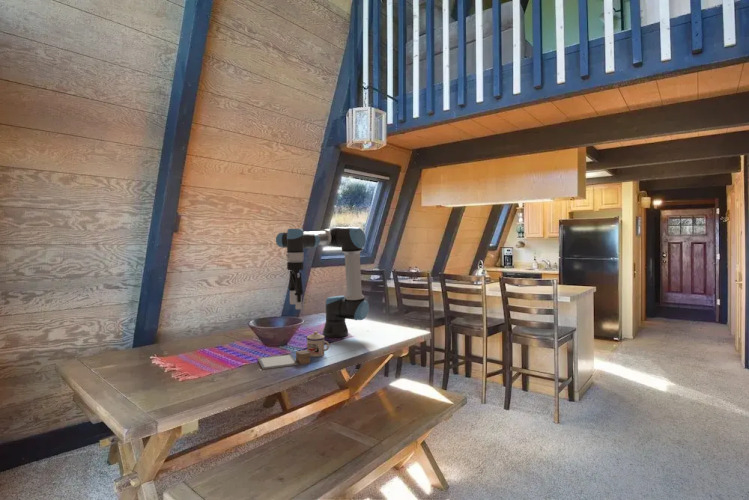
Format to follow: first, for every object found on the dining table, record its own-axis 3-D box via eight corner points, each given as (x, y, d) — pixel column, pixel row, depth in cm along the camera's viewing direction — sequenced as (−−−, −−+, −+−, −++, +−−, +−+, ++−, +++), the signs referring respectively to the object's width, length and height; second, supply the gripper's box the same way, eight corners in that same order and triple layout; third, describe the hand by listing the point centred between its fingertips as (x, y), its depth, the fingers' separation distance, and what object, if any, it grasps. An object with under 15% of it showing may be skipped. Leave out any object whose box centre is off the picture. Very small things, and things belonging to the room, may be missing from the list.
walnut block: (296, 362, 196) (296, 351, 196) (305, 360, 199) (305, 350, 199) (300, 364, 192) (300, 354, 192) (310, 363, 195) (310, 352, 195)
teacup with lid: (303, 355, 206) (303, 332, 205) (312, 351, 214) (312, 328, 214) (324, 358, 201) (324, 335, 201) (333, 353, 210) (333, 330, 209)
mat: (257, 359, 200) (257, 357, 200) (290, 355, 206) (290, 354, 206) (262, 369, 185) (262, 367, 185) (298, 364, 192) (298, 363, 192)
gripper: (282, 260, 204) (282, 302, 205) (292, 263, 181) (292, 311, 182) (297, 259, 207) (297, 301, 208) (309, 263, 184) (309, 310, 185)
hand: (295, 306), depth 195 cm, fingers open, 13 cm apart
